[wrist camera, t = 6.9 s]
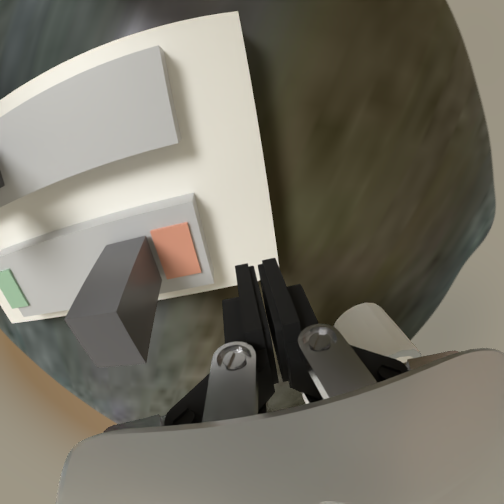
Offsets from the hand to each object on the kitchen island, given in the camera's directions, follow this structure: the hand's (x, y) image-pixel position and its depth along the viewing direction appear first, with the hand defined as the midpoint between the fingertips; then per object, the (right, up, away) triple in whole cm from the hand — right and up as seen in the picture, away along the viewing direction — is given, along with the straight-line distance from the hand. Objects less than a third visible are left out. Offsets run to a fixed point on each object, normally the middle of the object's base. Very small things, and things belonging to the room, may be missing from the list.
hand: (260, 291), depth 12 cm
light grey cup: (+10, -5, +15) cm, 18 cm away
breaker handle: (-7, +1, +3) cm, 8 cm away
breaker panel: (-11, +6, +5) cm, 14 cm away
